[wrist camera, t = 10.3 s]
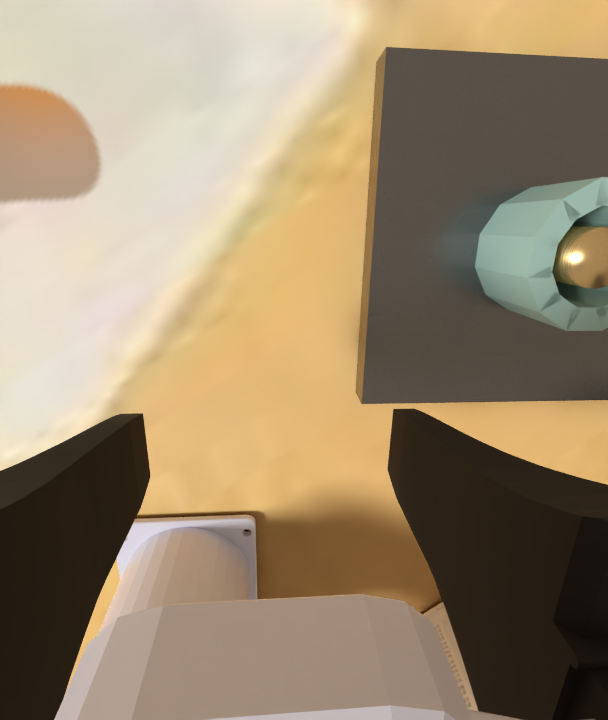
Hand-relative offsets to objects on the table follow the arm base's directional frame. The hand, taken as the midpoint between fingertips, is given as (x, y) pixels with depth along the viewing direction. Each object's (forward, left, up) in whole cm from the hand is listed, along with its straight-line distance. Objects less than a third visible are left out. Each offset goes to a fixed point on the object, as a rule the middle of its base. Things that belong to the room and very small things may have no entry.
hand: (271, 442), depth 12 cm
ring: (+5, -12, -8) cm, 15 cm away
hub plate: (+5, -12, -9) cm, 16 cm away
